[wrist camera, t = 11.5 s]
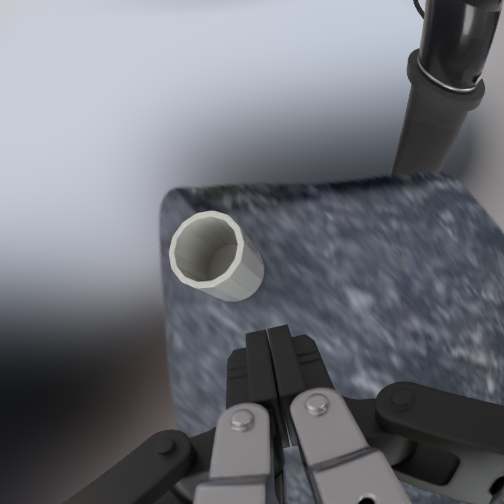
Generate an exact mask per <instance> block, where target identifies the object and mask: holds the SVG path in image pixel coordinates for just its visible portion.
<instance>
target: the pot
mask: <svg viewBox="0 0 504 504" xmlns="http://www.w3.org/2000/svg"><path fill="white" fill-rule="evenodd" d="M169 257H170V263H171V268H172V270H173V272H174V273H175V274H176V276H177V277H178V278H179V280H180V281H181V282H182V283H185V284H187V285H189V286H191V287H194V288H196V289H198V290H200V291H203V292H205V293H207V294H210V295H212V296H214V297H217V298H219V299H221V300H224V301H228V302H238V301H242V300H244V299H246V298H248V297H250V296H251V295H253V294H254V293H255V292H256V291H257V289H258V288H259V286H260V285H261V283H262V280H263V277H264V262H263V259H262V257H261V255H260V252H259V251H258V250H257V248H256V247H255V246H254V245H253V243H252V242H251V241H250V239H249V238H248V237H247V235H246V234H245V233H244V232H243V230H242V229H241V228H240V226H239V225H238V224H237V223H236V222H235V221H234V220H233V219H232V218H231V217H230V216H229V215H226V214H223V213H220V212H217V211H207V212H201V213H197V214H195V215H194V216H192V217H190V218H189V219H187V220H186V221H184V222H183V223H182V224H181V226H180V227H179V228H178V230H177V231H176V233H175V234H174V235H173V238H172V242H171V246H170V250H169Z"/></svg>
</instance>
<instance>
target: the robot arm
mask: <svg viewBox="0 0 504 504" xmlns="http://www.w3.org/2000/svg"><path fill="white" fill-rule="evenodd" d="M413 1H414V5H415V7H416V9H417V11H418V12H419V14H420V15H421V16H422V18H423V19H424V22H423V30H422V37H421V43H420V50H419V53H418V58H417V66H418V68H419V70H420V72H421V73H422V74H423V76H424V77H425V78H426V79H428V80H429V81H430V82H431V83H433V84H434V85H436V86H438V87H439V88H441V89H443V90H446V91H448V92H451V93H455V94H461V95H467V94H471V93H473V92H474V91H475V90H476V89H477V86H478V84H479V81H480V80H481V78H482V77H483V76H484V73H485V71H484V72H483V73H482V71H483V68H484V66H485V63H486V60H487V57H488V54H489V51H490V48H491V45H492V42H493V38H494V35H495V32H496V28H497V25H498V21H499V17H500V13H501V9H502V5H503V1H504V0H426V5H425V13H424V11H423V10H422V8H421V7H420V5H419V2H418V0H413ZM481 73H482V74H481ZM268 335H269V340H270V344H269V340H268V336H267V332H266V329H265V330H261V331H256V332H251V333H247V334H246V348H242V349H237V350H234V351H233V352H232V354H231V355H230V357H229V358H228V364H227V370H228V372H227V394H226V410H225V411H224V412H223V413H222V414H221V415H220V417H219V419H218V421H217V426H216V427H215V428H213V429H211V430H210V431H208V432H205V433H203V434H200V435H197V436H194V437H191V438H188V436H187V435H186V434H185V433H183V432H181V431H178V430H164V431H161V432H158V433H156V434H154V435H152V436H151V437H150V438H148V439H147V440H146V441H145V442H143V443H142V444H141V445H140V446H139V447H137V448H136V449H135V450H134V451H132V452H131V453H130V454H129V455H127V456H126V457H125V458H123V459H122V460H121V461H120V462H118V463H117V464H116V465H114V466H113V467H112V468H111V469H109V470H108V471H107V472H105V473H104V474H103V475H101V476H100V477H99V478H97V479H96V480H95V481H93V482H92V483H91V484H90V485H88V486H86V487H85V488H84V489H82V490H81V491H79V492H78V493H77V494H75V495H74V496H72V497H71V498H70V499H68V500H67V501H65V502H64V503H63V504H287V494H286V475H285V466H284V463H285V459H284V452H283V448H287V447H290V444H289V439H288V433H287V428H288V432H289V436H290V440H291V444H292V446H296V445H298V447H299V451H300V456H301V460H302V464H303V468H304V471H305V474H306V477H307V480H308V483H309V487H310V490H311V493H312V496H313V499H314V502H315V504H412V503H411V501H410V500H409V498H408V496H407V494H406V493H405V491H404V489H403V487H402V486H401V484H400V482H399V480H400V481H403V482H405V483H408V484H411V485H413V486H416V487H419V488H421V489H424V490H427V491H430V492H433V493H436V494H439V495H442V496H445V497H448V498H451V499H454V500H458V501H461V502H465V503H468V504H504V406H503V405H498V404H494V403H489V402H485V401H480V400H476V399H472V398H468V397H464V396H460V395H456V394H452V393H448V392H444V391H441V390H437V389H433V388H430V387H426V386H423V385H419V384H416V383H412V382H397V383H393V384H390V385H388V386H386V387H385V388H383V389H382V390H381V391H380V392H379V394H378V395H377V398H376V399H364V400H355V399H349V398H346V397H343V396H342V395H340V394H339V393H338V392H337V391H336V390H335V389H334V387H333V385H332V382H331V380H330V377H329V375H328V372H327V370H326V367H325V365H324V363H323V360H322V358H321V355H320V353H319V351H318V348H317V346H316V343H315V341H314V340H313V339H311V338H310V337H308V336H307V335H301V336H296V337H291V334H290V331H289V328H288V325H283V326H278V327H274V328H270V329H268ZM270 346H271V348H270ZM271 351H272V353H271ZM284 416H285V417H284ZM285 420H286V423H285ZM286 424H287V428H286Z"/></svg>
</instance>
